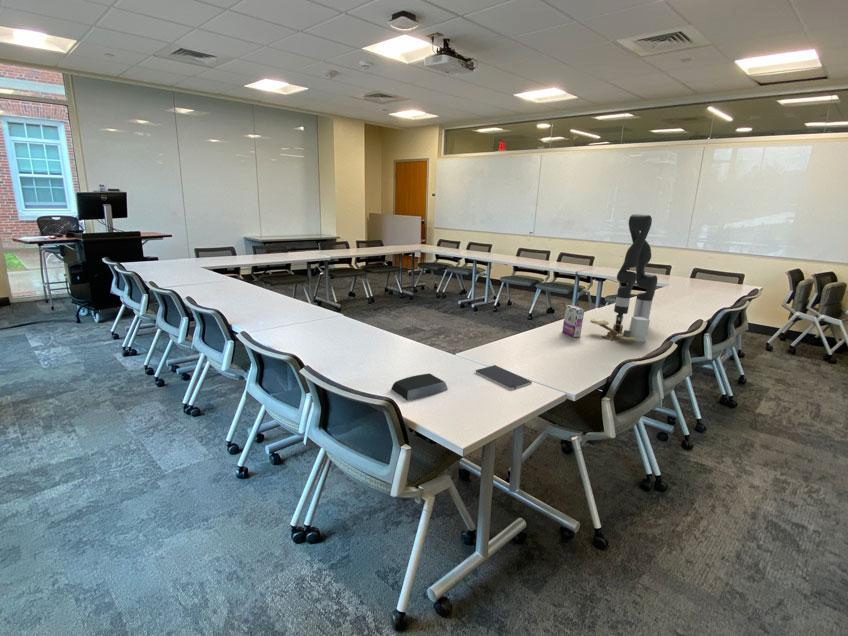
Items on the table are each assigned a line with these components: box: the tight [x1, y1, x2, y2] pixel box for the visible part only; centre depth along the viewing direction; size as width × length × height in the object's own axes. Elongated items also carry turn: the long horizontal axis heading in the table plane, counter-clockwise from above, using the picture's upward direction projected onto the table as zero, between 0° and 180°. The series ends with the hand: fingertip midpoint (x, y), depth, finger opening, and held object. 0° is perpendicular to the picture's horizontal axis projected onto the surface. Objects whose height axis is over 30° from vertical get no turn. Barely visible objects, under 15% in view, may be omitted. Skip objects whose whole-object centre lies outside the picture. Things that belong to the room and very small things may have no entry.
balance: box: [590, 318, 636, 341], centre depth 257 cm, size 28×10×7 cm, turn 36°
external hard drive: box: [390, 373, 448, 401], centre depth 177 cm, size 13×19×4 cm
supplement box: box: [629, 316, 650, 343], centre depth 256 cm, size 7×7×13 cm
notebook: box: [475, 364, 532, 391], centre depth 193 cm, size 13×2×21 cm
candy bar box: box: [561, 304, 585, 338], centre depth 258 cm, size 11×5×16 cm, turn 17°
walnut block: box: [612, 323, 624, 333], centre depth 268 cm, size 5×5×5 cm
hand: (617, 331), depth 268 cm, fingers open, 6 cm apart
